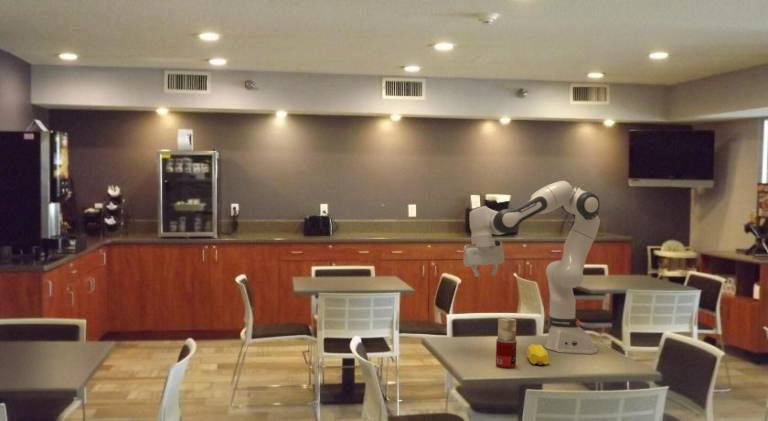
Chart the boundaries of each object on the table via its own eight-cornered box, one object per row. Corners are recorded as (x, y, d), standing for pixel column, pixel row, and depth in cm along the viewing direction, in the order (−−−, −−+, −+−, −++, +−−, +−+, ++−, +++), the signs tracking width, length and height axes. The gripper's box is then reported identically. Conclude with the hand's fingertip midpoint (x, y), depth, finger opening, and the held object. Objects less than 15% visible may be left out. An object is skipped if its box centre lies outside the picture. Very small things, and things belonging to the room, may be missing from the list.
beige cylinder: (507, 337, 305) (508, 317, 305) (515, 339, 301) (516, 319, 300) (497, 338, 302) (498, 318, 302) (505, 340, 298) (506, 320, 298)
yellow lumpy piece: (543, 357, 320) (525, 356, 321) (544, 342, 320) (526, 341, 321) (549, 367, 302) (530, 366, 303) (550, 351, 302) (531, 350, 303)
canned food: (515, 369, 297) (516, 341, 297) (495, 367, 299) (496, 340, 299) (516, 364, 305) (516, 337, 304) (496, 363, 306) (497, 336, 306)
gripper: (467, 244, 316) (471, 277, 315) (504, 241, 327) (508, 273, 326) (458, 245, 322) (462, 278, 320) (495, 243, 333) (498, 274, 331)
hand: (485, 275), depth 323 cm, fingers open, 8 cm apart
